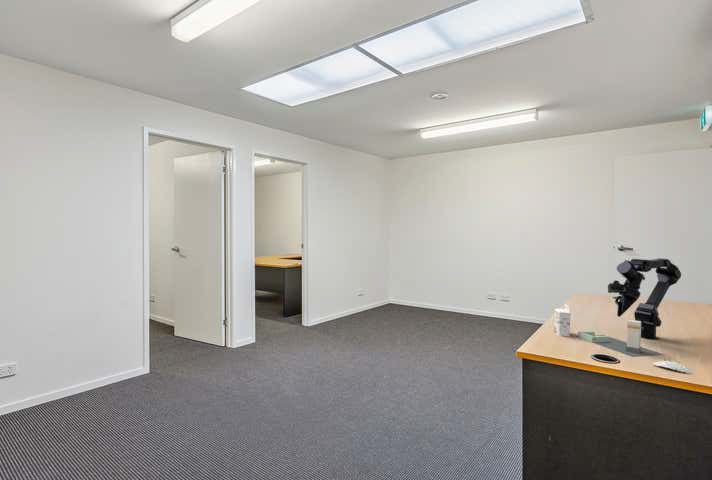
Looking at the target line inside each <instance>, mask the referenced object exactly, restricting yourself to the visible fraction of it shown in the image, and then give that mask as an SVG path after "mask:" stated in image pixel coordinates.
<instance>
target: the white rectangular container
mask: <svg viewBox="0 0 712 480" xmlns="http://www.w3.org/2000/svg"><path fill="white" fill-rule="evenodd" d="M626 335H627V336H626V337H627V338H626V342H627V346H626V351H627V352H633V353H638V354H639V353H640V352H641V347H642V345H641V341H642V339H641V338H642V337H641V321H635V319H628V320H627V333H626Z"/></svg>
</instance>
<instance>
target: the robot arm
mask: <svg viewBox="0 0 712 480" xmlns="http://www.w3.org/2000/svg"><path fill="white" fill-rule="evenodd" d="M652 269H655V273H656V274H657V275H656V276H657V280H658V281H657V283H656V284H655V286H654V288H653V289H652V291H651V293H650V295H649V297H647V300H646V301H645V303H643V302H639V304H638V305H637V307H636V308H635V311H634V313H633V315H634V320H635V321H641V338H643V339H645V340H655V339H656V340H657V339H660V337H659V336H657V327H658V328H659V327H661V325H662V320H661V318H660V317H659V315H660V314H659V311H658V308H659V306H660V304H661V302H662V301H663V300H664V297H665V295H666V294H667V292H668V290H669V288H670V287H671V286H673V285H675V284H677V283H678V281H679V280H680V279H681V278H682V272H681V271H680V269H679V267H678V266H677V265H675V264H674V263H672V262H671V260H670V259H668V258H661V257H660V258H658V257H657V258H655V259H640V258H631V260H630V259H629V260H628V259H627V260H626V259H624V261H623V262H621V263H619V264H618V265H617V266H616V272H618V274H620V275H621V276H622V277H623V278H625V281H624V282H623V284H622V283H620V281H619V280H613V282H610V283H608V285H607V293H609V294H611V293H613V294H618V295H619V296H617V297H616V298H615V299H614V303H615V304H616V305H617V314H616V317H618V318H620V317H621V316H623V315H624V314H625V313H626V312H627V311H628V310H629V309H630V308H631V307H632V306H633V305H634V303H636V302H637V300H639V298H640V296H641V293H642V292H640V291H639V290H640V288H641V284H642V282H643V281H645V280H646V276H644V273H649V272H651V271H652Z"/></svg>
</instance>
